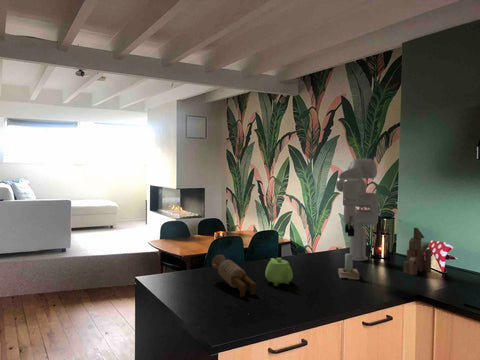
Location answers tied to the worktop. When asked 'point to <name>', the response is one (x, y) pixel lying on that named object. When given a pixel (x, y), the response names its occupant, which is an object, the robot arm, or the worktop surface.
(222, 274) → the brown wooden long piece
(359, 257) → the robot arm
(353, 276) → the tan rectangular frame
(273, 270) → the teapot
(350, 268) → the dowel
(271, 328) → the worktop surface
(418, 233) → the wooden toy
